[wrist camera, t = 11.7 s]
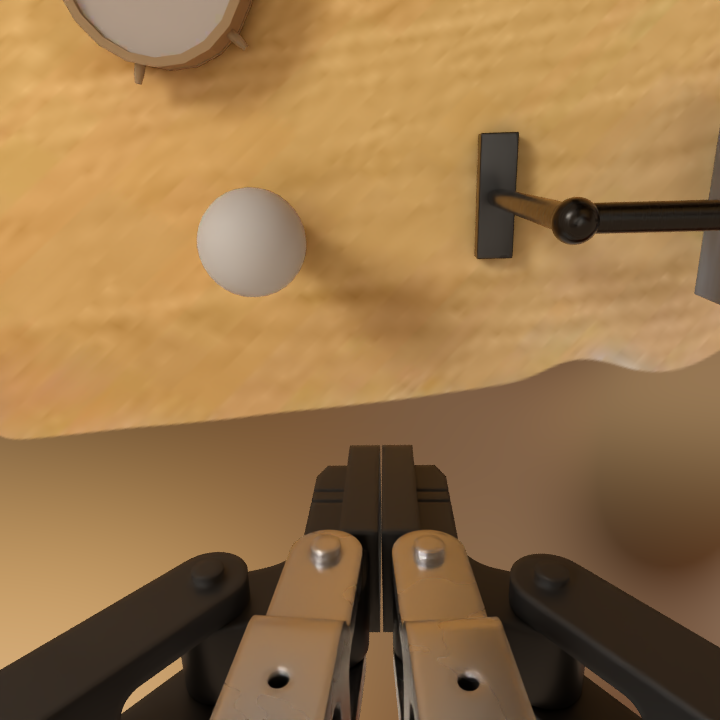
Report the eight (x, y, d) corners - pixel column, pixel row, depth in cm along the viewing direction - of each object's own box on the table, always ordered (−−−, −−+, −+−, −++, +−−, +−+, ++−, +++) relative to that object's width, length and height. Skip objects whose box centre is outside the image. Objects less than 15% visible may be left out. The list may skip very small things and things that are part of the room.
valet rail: (474, 256, 41) (542, 327, 23) (478, 133, 38) (558, 108, 21) (745, 250, 40) (1033, 319, 22) (767, 124, 38) (1112, 88, 20)
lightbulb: (217, 206, 41) (160, 221, 30) (296, 167, 40) (264, 168, 29) (258, 285, 42) (217, 325, 32) (334, 250, 41) (318, 279, 31)
